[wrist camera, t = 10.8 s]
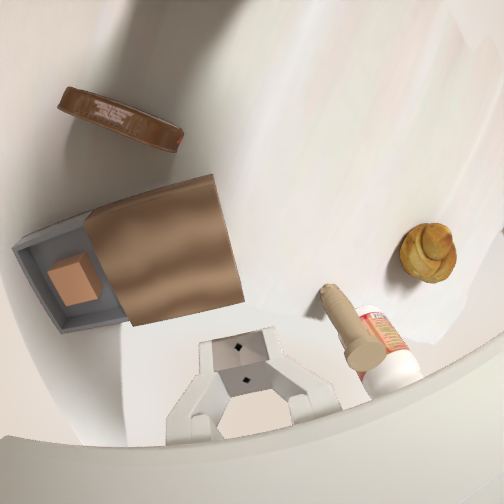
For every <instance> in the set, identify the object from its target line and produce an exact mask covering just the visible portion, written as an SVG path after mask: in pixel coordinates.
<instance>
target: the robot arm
mask: <svg viewBox="0 0 504 504" xmlns="http://www.w3.org/2000/svg"><path fill="white" fill-rule="evenodd" d="M199 373H200V375H196V376H195V377H194V379H193V380H192V382H191V383H190V385H189V386H188V388H187V389H186V390H185V392H184V393H183V395H182V396H181V398H180V399H179V401H178V402H177V403H176V405H175V406H174V408H173V409H172V411H171V412H170V413H169V415H168V416H167V418H166V446H156V447H96V446H79V445H67V444H57V443H50V442H42V441H36V440H30V439H24V438H19V437H14V436H5V437H3V438H2V439H1V440H0V504H504V331H503V332H502V333H500V334H499V335H497V336H496V337H494V338H493V339H491V340H490V341H488V342H487V343H485V344H483V345H482V346H480V347H479V348H477V349H475V350H474V351H472V352H470V353H469V354H467V355H465V356H463V357H462V358H460V359H458V360H457V361H455V362H453V363H451V364H449V365H447V366H445V367H444V368H442V369H440V370H438V371H436V372H434V373H432V374H430V375H428V376H426V377H424V378H422V379H420V380H418V381H416V382H413V383H411V384H409V385H407V386H405V387H402V388H400V389H398V390H395V391H393V392H391V393H388V394H386V395H384V396H381V397H379V398H376V399H374V400H371V401H368V402H366V403H363V404H360V405H358V406H355V407H352V408H349V409H346V410H344V411H343V410H342V407H341V405H340V402H339V400H338V397H337V395H336V393H335V390H334V388H333V385H332V384H331V383H329V382H328V381H326V380H324V379H323V378H321V377H320V376H318V375H317V374H315V373H314V372H312V371H311V370H309V369H308V368H306V367H304V366H303V365H301V364H300V363H298V362H297V361H295V360H294V359H292V358H291V357H290V356H284V354H283V351H282V347H281V344H280V341H279V338H278V334H277V331H276V328H275V327H274V326H272V327H268V328H264V329H262V330H261V329H260V330H256V331H252V332H248V333H244V334H239V335H236V336H230V337H225V338H220V339H215V340H211V341H205V342H200V343H199ZM267 389H273V390H274V391H275V392H277V394H278V395H280V396H281V397H282V398H283V399H284V400H285V401H287V402H288V403H289V409H290V414H291V420H292V425H293V426H289V427H285V428H280V429H276V430H272V431H267V432H263V433H258V434H253V435H248V436H242V437H236V438H231V439H224V437H223V436H222V435H221V433H220V432H219V430H218V429H217V426H218V424H219V422H220V420H221V417H222V416H223V413H224V411H225V409H226V407H227V405H228V403H229V401H230V397H235V396H239V395H243V394H247V393H251V392H257V391H262V390H267Z"/></svg>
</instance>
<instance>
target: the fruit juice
mask: <svg viewBox="0 0 504 504" xmlns="http://www.w3.org/2000/svg"><path fill="white" fill-rule="evenodd" d="M355 311H356V312H357V314H358V316H359V318H360V320H361V322H362V323H363V325H364V327H365V329H366V331H367V332H368V334H369V335H372V336H376V337H377V338H378V339H379V340H380V341H381V342H382V343H383V345H384V346H385V348H386V355H387V356H386V358H385V359H384V360H383V361H382V362H381V363H380V364H379V365H378V366H377V367H375V368H374V369H372V370H370V371H363V372H360V371H356V372H357V374H358V376H359V378H360V380H361V382H362V384H363V386H364V388H365V390H366V392H367V393H368V395H369V396H370V398H371V399H372V400H374V399H376V398H379V397H381V396H384V395H386V394H388V393H391V392H393V391H395V390H398V389H400V388H402V387H405V386H407V385H409V384H411V383H413V382H416V381H418V380H420V379H422V378H424V376H423V375H422V374H421V371H420V366H419V364H418V362H417V360H416V358H415V357H414V355H413V354H412V352H411V351H410V349H409V348H408V347H407V345H406V344H405V342H404V341H403V340H402V338H401V337H400V335H399V334H398V333H397V331H396V330H395V328H394V327H393V326H392V324H391V323H390V322H389V320H388V319H387V318H386V316H385V315H384V314H383V312H382V311H381V310H380V309H379V308H377V307H375V306H372V305H366V306H361V307H359V308H356V309H355ZM338 336H339V339H340V341H341V343H342V345H343V347H344V349H345V350H346V348H347V346H346V344H345V342H344V341H343V339H342V338H341V336H340V334H339V333H338Z"/></svg>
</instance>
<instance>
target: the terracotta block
mask: <svg viewBox="0 0 504 504" xmlns="http://www.w3.org/2000/svg"><path fill="white" fill-rule="evenodd" d="M47 273H48V275H49V276H50V278H51V280H52V282H53V284H54V286H55V288H56V289H57V291H58V293H59V295H60V296H61V298H62V300H63V302H64V303H65V305H66V306H69V305H73V304H78V303H82V302H86V301H90V300H95V299H98V297H99V295H100V293H101V291H102V289H103V285H102V283H101V281H100V279H99V277H98V275H97V273H96V271H95V269H94V267H93V265H92V263H91V261H90V258H89V256H88V254H87V252H83V253H80V254H77V255H74V256H71V257H68V258H64V259H61V260H58V261H55V262H54V264H53V265H52V266H51V268H50V269H49V270H48V272H47Z"/></svg>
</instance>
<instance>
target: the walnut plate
mask: <svg viewBox="0 0 504 504" xmlns="http://www.w3.org/2000/svg"><path fill="white" fill-rule="evenodd" d="M83 225H84V227H85V229H86V232H87V234H88V237H89V239H90V241H91V244H92V246H93V248H94V250H95V253H96V255H97V257H98V259H99V261H100V264H101V266H102V268H103V270H104V272H105V274H106V276H107V278H108V280H109V282H110V284H111V286H112V288H113V290H114V292H115V294H116V296H117V298H118V300H119V302H120V304H121V306H122V308H123V309H124V311H125V313H126V315H127V317H128V319H129V320H130V322H131V324H132V326H133V327H134V326H139V325H144V324H149V323H154V322H158V321H163V320H168V319H173V318H177V317H182V316H186V315H190V314H195V313H200V312H204V311H208V310H212V309H217V308H221V307H225V306H230V305H234V304H238V303H242V302H245V300H244V296H243V291H242V286H241V281H240V278H239V274H238V270H237V266H236V263H235V259H234V255H233V251H232V247H231V244H230V240H229V236H228V232H227V228H226V224H225V221H224V217H223V213H222V209H221V205H220V201H219V197H218V193H217V189H216V185H215V181H214V177H213V174H209V175H206V176H202V177H198V178H194V179H190V180H187V181H183V182H179V183H176V184H172V185H169V186H165V187H162V188H159V189H155V190H152V191H149V192H145V193H142V194H139V195H136V196H133V197H129V198H126V199H123V200H120V201H117V202H114V203H111V204H108V205H105V206H102V207H99V208H97V209H95V210H94V211H93V213H92V214H91V215H90V216H89V217H88V218H87V219H86V220H85V221H84V222H83Z"/></svg>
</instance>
